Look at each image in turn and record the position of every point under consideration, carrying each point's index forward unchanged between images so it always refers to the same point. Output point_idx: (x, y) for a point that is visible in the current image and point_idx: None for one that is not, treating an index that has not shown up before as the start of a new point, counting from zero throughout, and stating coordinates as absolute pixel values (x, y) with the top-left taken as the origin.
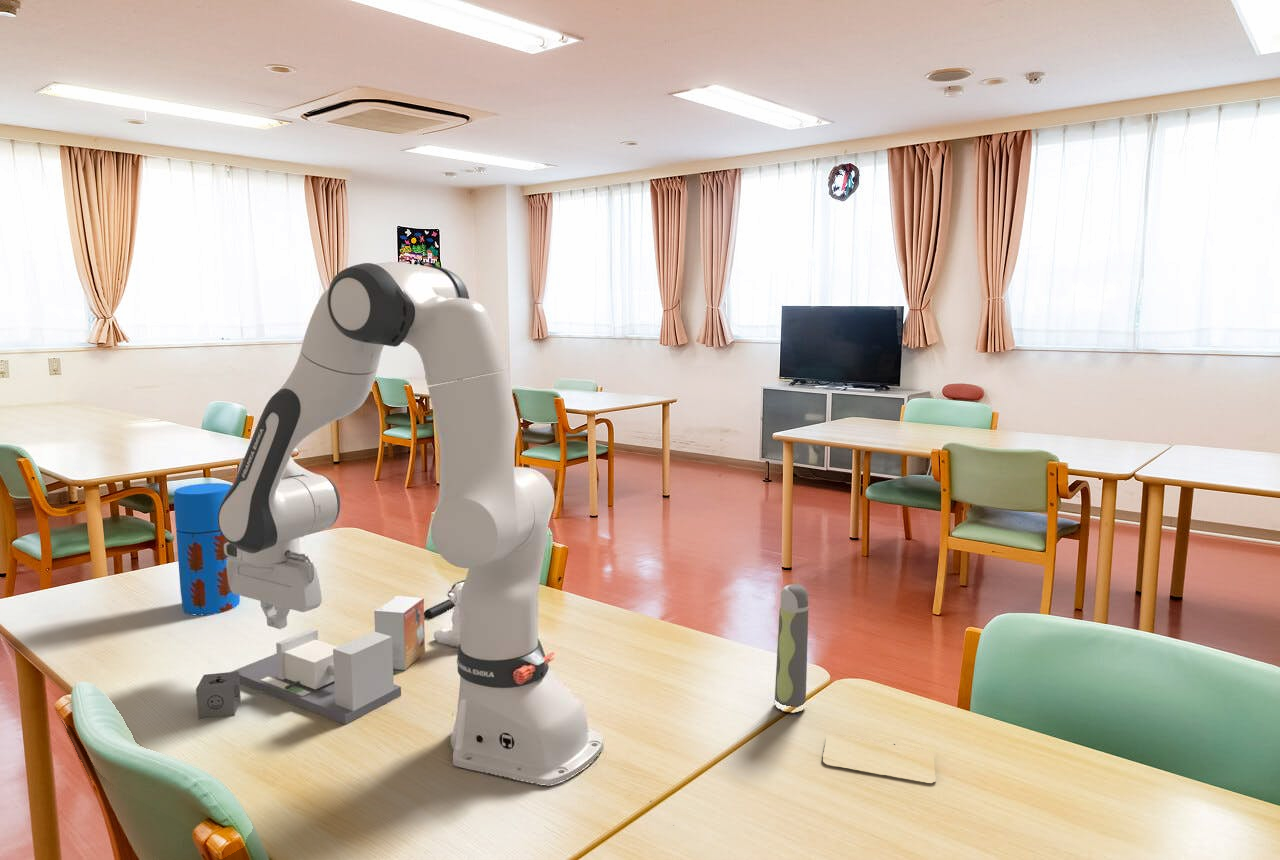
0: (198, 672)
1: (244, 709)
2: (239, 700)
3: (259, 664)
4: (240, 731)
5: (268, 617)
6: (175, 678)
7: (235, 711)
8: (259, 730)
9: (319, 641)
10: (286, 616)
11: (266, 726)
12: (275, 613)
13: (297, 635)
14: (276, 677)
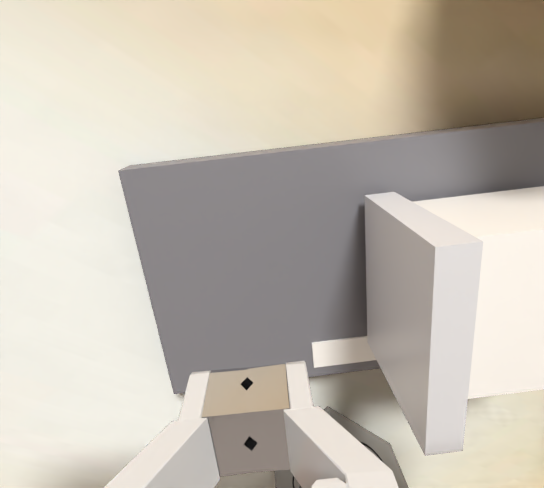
0: (45, 407)
1: (382, 419)
2: (342, 420)
3: (188, 316)
4: (469, 461)
5: (218, 477)
6: (45, 455)
7: (381, 440)
8: (505, 438)
9: (493, 241)
10: (320, 411)
11: (505, 422)
12: (203, 440)
13: (440, 353)
14: (337, 328)
